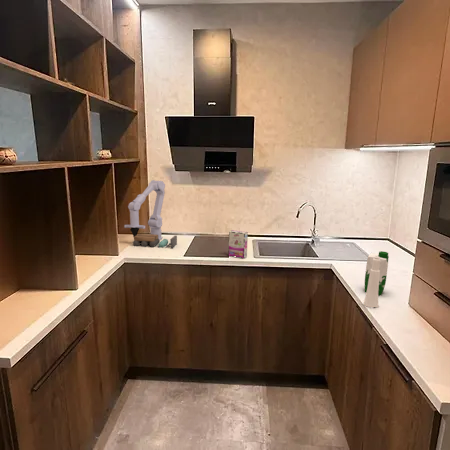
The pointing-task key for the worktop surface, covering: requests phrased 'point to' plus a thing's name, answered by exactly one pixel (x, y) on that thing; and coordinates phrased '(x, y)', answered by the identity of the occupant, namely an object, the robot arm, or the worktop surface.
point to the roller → (163, 243)
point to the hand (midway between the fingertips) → (135, 238)
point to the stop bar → (173, 242)
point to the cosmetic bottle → (373, 284)
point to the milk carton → (382, 267)
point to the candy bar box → (238, 243)
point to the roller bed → (145, 243)
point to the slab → (146, 237)
